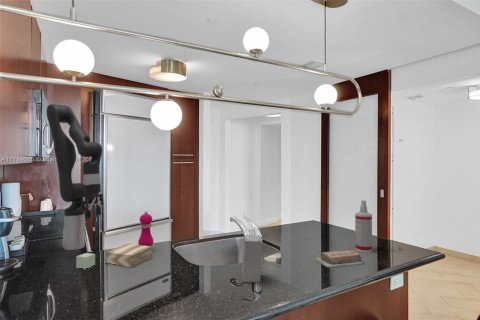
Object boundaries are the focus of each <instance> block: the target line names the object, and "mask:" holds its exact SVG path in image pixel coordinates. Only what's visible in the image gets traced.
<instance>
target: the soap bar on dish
mask: <svg viewBox="0 0 480 320" xmlns="http://www.w3.org/2000/svg"><path fill="white" fill-rule="evenodd" d="M315 260H316V261H317V262H318V263H320V264H321V265H323V266H325V267H326V268H329V269H330V268H336V267H337V268H339V267H350V266H357V265H365V262H364V261H362V257H361V254H360V253H359V251H357V250H353V249H350V250H336V251H324V252H321V253H320V257H316V259H315Z"/></svg>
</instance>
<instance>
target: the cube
mask: <svg viewBox="0 0 480 320" xmlns="http://www.w3.org/2000/svg"><path fill="white" fill-rule="evenodd" d="M75 257H76V258H75V260H76V261H75V263H76V265H75V268H76V269H79V268H83V269H82V270H85V269H86V268H88V269H90V268H92V267H91V266H93V265H95V266H96V254H95V253H90V252H85V253H82V254H80V255H79V254H78V255H77V256H75ZM89 267H90V268H89ZM93 267H94V266H93ZM86 270H87V269H86Z"/></svg>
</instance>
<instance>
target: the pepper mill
mask: <svg viewBox="0 0 480 320" xmlns="http://www.w3.org/2000/svg"><path fill="white" fill-rule="evenodd" d="M152 221H153V216H152V215H151V214H149V212H148V211H147V210H145V211H143V214H141V215H140V217H139V223H140V228H141V232H140V236H139V238H138V241H137V245H143V246H152V247H153V245H154V238H153V236H152V233H151V227H152Z"/></svg>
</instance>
